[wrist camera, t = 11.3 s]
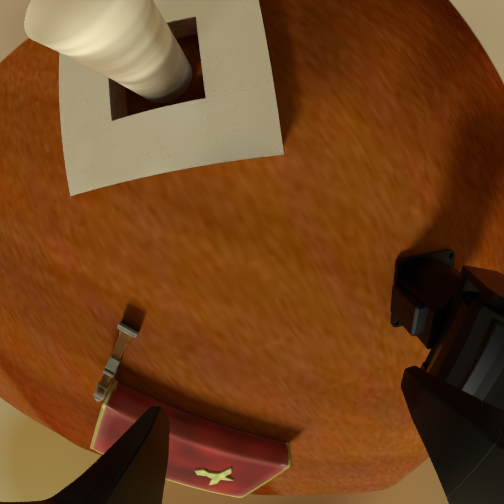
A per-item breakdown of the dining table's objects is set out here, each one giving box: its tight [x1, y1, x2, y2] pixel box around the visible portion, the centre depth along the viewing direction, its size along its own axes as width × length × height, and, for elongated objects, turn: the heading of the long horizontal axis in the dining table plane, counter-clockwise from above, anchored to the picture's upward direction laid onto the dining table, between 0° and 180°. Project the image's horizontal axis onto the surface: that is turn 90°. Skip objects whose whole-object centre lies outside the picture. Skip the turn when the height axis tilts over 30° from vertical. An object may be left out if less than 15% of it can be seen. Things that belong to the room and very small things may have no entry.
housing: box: [59, 0, 284, 196], centre depth 15 cm, size 14×14×3 cm
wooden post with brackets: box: [93, 321, 139, 401], centre depth 22 cm, size 2×8×4 cm, turn 149°
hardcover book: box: [90, 380, 292, 498], centre depth 26 cm, size 12×21×4 cm, turn 60°
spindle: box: [24, 0, 192, 103], centre depth 11 cm, size 4×4×13 cm
